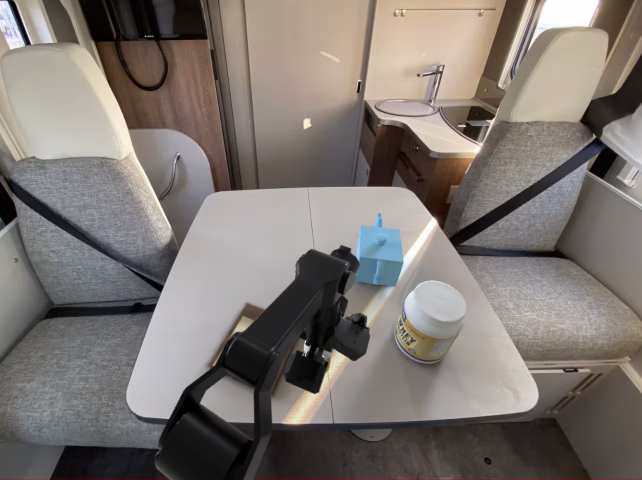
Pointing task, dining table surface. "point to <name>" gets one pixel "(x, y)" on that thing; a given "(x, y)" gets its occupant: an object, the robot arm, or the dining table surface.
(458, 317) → the supplement tub
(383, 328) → the dining table surface
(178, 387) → the dining table surface
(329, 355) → the supplement bottle
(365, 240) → the teapot
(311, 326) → the robot arm
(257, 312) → the drawing board
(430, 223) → the dining table surface
